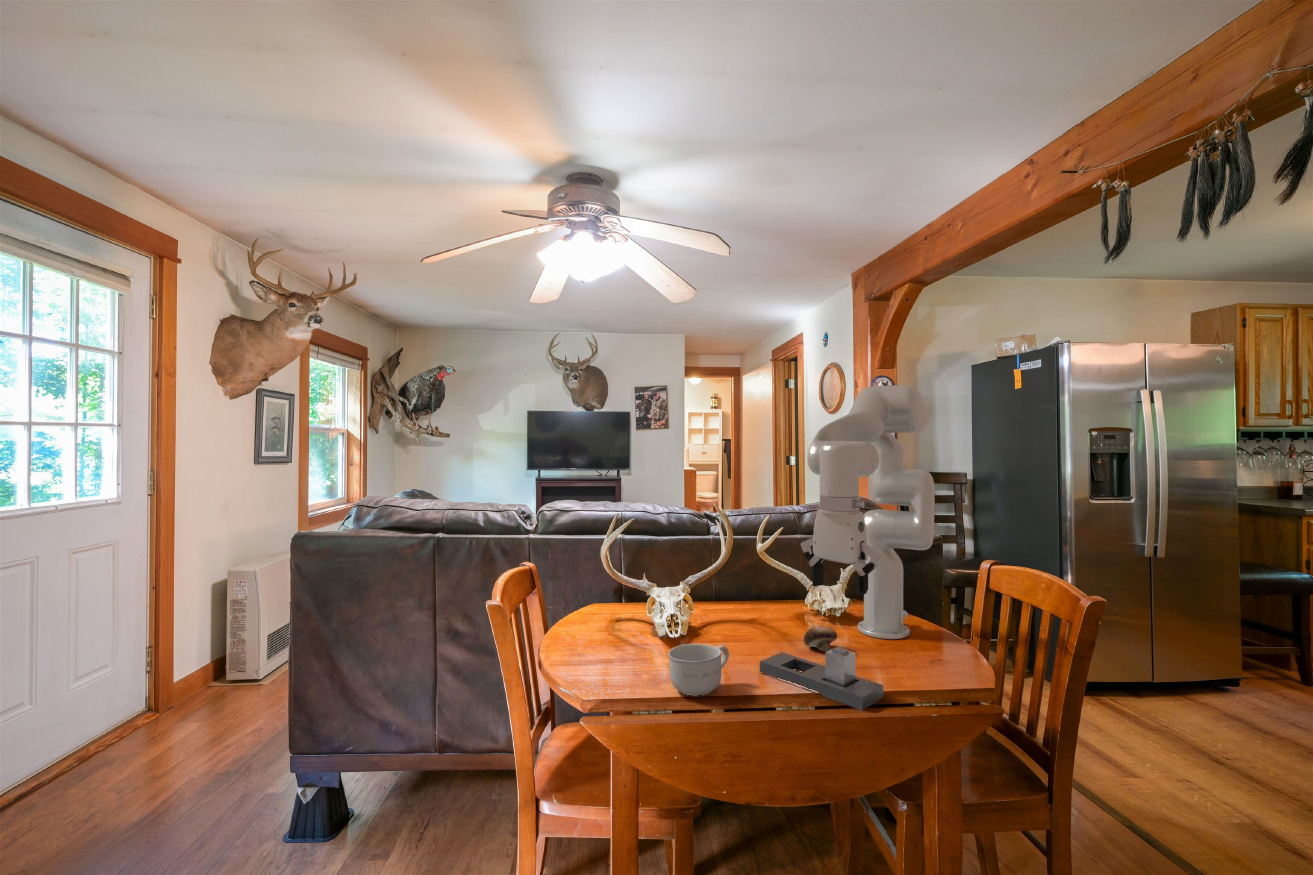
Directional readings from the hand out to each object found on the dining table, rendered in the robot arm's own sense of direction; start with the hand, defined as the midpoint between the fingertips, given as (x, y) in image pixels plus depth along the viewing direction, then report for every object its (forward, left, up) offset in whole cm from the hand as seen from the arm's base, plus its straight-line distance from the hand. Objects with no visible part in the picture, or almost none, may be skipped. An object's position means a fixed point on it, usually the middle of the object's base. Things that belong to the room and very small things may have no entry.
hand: (839, 589), depth 122 cm
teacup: (+20, -19, -21) cm, 34 cm away
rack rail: (+1, -4, -20) cm, 21 cm away
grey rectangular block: (0, +1, -20) cm, 20 cm away
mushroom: (-17, -15, -21) cm, 31 cm away
